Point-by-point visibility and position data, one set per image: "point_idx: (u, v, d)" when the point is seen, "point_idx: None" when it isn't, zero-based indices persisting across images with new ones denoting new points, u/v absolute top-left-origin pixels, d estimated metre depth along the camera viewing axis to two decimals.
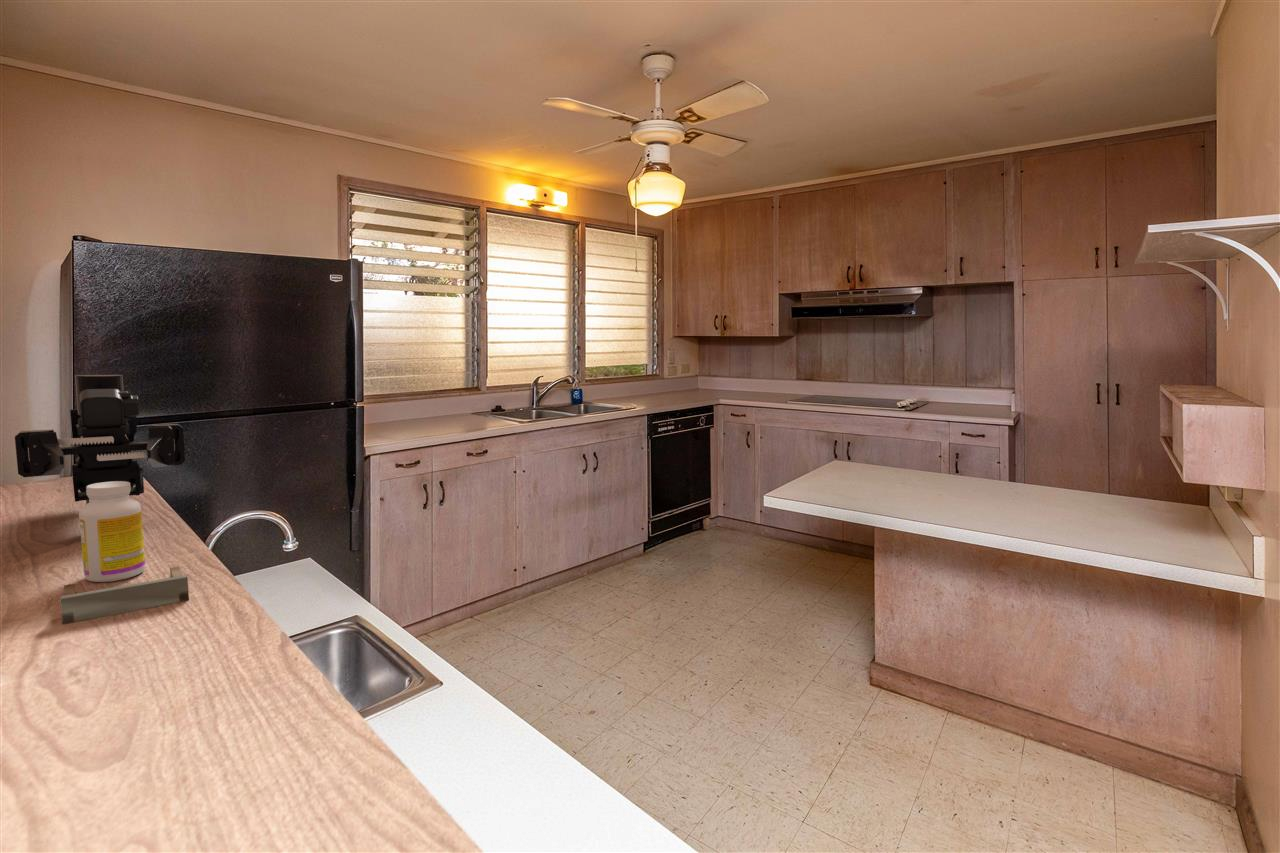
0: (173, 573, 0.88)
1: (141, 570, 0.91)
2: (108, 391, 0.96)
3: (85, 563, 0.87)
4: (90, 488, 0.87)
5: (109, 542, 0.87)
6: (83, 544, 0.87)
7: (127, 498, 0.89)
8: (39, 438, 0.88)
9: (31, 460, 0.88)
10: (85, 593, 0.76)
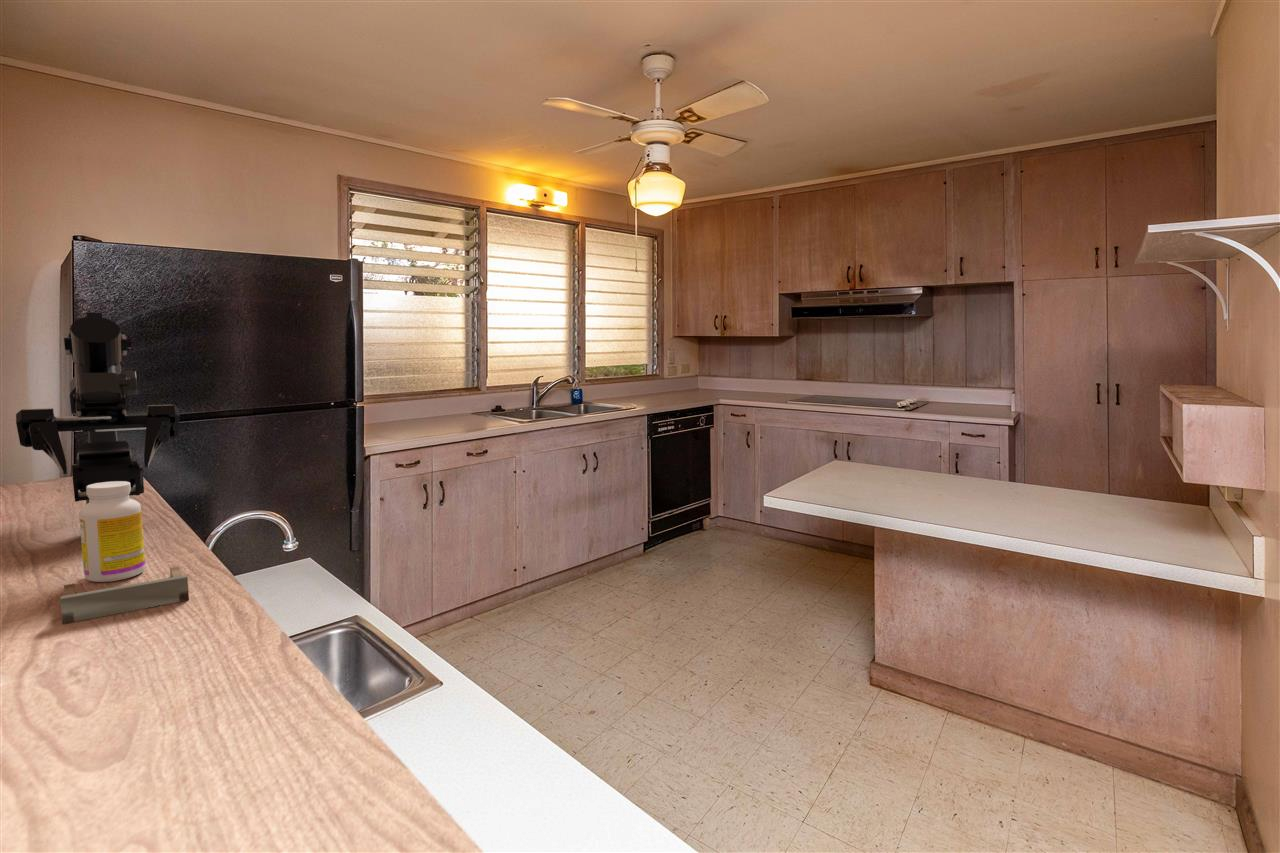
0: (173, 573, 0.88)
1: (141, 570, 0.91)
2: (107, 378, 0.95)
3: (85, 563, 0.87)
4: (90, 488, 0.87)
5: (109, 542, 0.87)
6: (83, 544, 0.87)
7: (127, 498, 0.89)
8: (40, 429, 0.92)
9: (33, 441, 0.93)
10: (85, 593, 0.76)
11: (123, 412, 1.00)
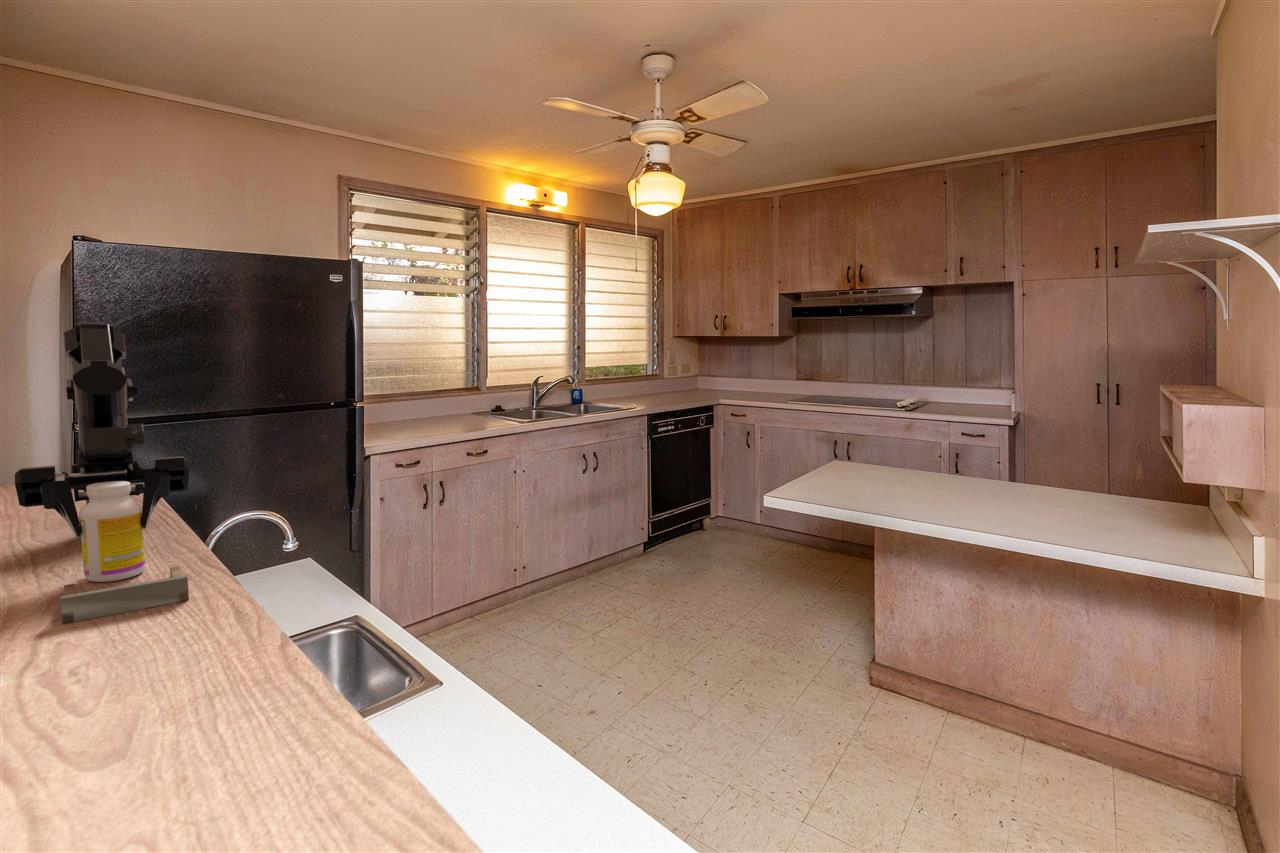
0: (173, 573, 0.88)
1: (141, 570, 0.91)
2: (113, 433, 0.88)
3: (85, 563, 0.87)
4: (90, 488, 0.87)
5: (109, 542, 0.87)
6: (83, 544, 0.87)
7: (127, 498, 0.89)
8: (52, 489, 0.86)
9: (44, 500, 0.87)
10: (85, 593, 0.76)
11: (129, 466, 0.93)
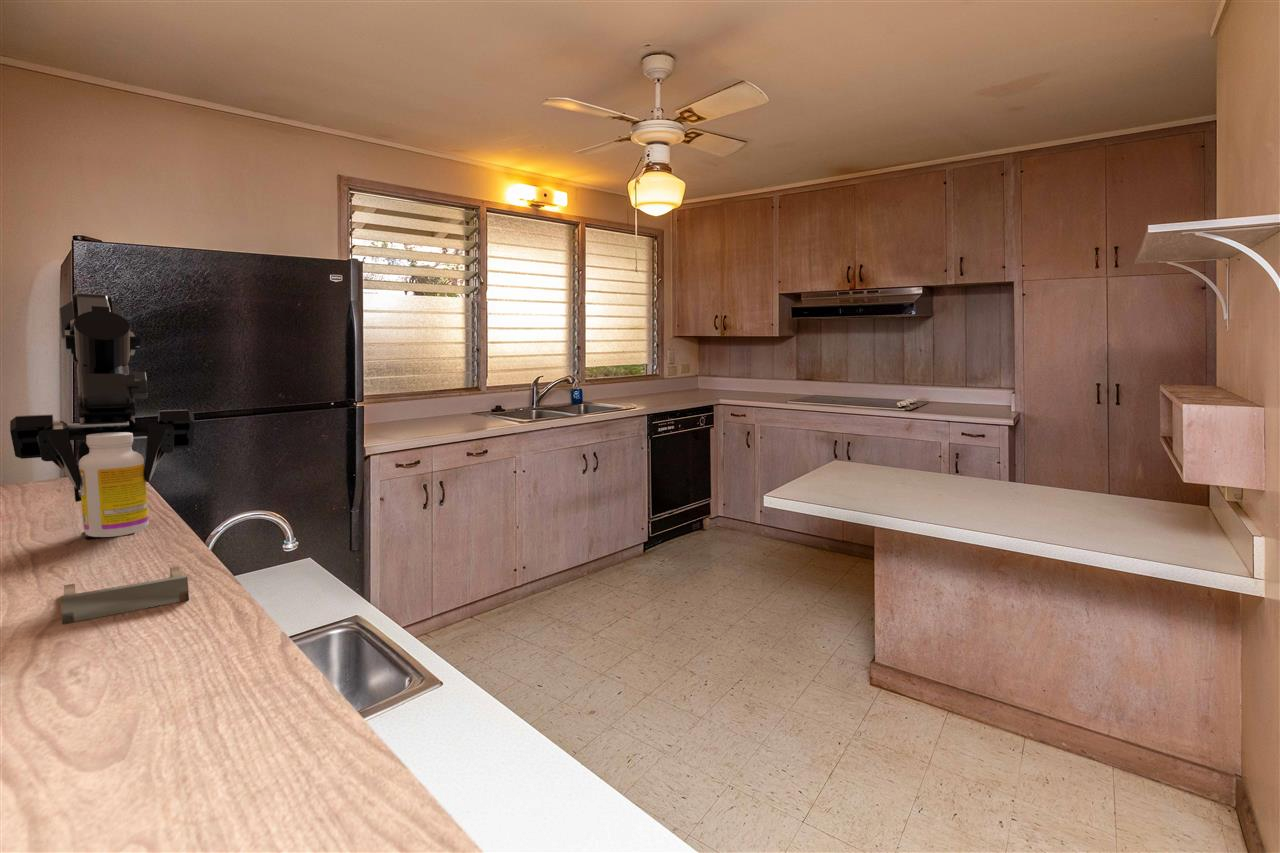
0: (173, 573, 0.88)
1: (144, 526, 0.86)
2: (114, 380, 0.84)
3: (85, 517, 0.82)
4: (90, 436, 0.82)
5: (110, 494, 0.82)
6: (83, 496, 0.82)
7: (129, 449, 0.84)
8: (50, 438, 0.81)
9: (42, 451, 0.82)
10: (85, 593, 0.76)
11: (131, 418, 0.89)
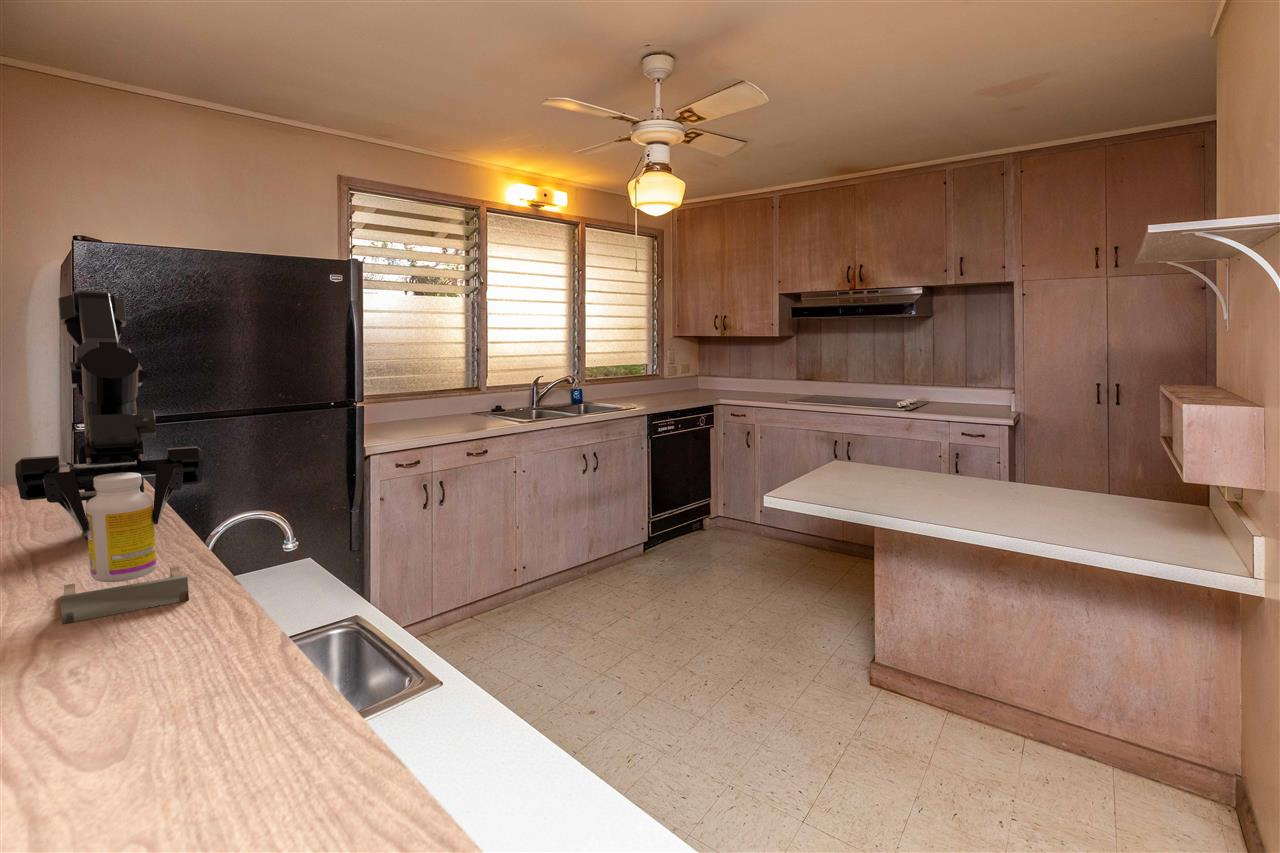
0: (173, 573, 0.88)
1: (152, 569, 0.84)
2: (122, 421, 0.81)
3: (92, 561, 0.80)
4: (98, 480, 0.79)
5: (118, 539, 0.80)
6: (90, 541, 0.80)
7: (138, 491, 0.82)
8: (56, 481, 0.79)
9: (47, 493, 0.80)
10: (85, 593, 0.76)
11: (139, 457, 0.86)
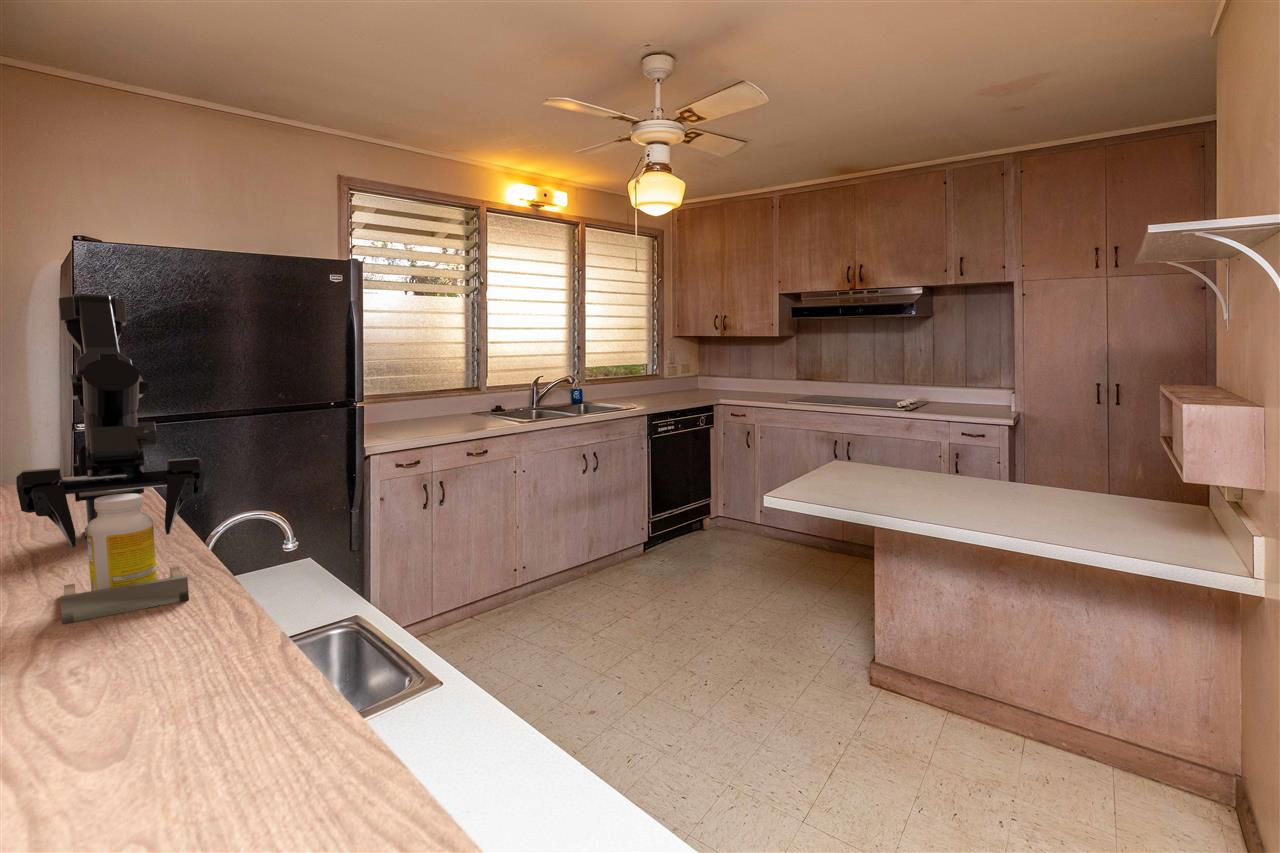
0: (173, 573, 0.88)
1: None
2: (123, 433, 0.81)
3: (93, 583, 0.80)
4: (98, 501, 0.80)
5: (119, 560, 0.80)
6: (91, 562, 0.80)
7: (138, 512, 0.83)
8: (45, 495, 0.78)
9: (36, 507, 0.80)
10: (85, 593, 0.76)
11: (140, 468, 0.86)
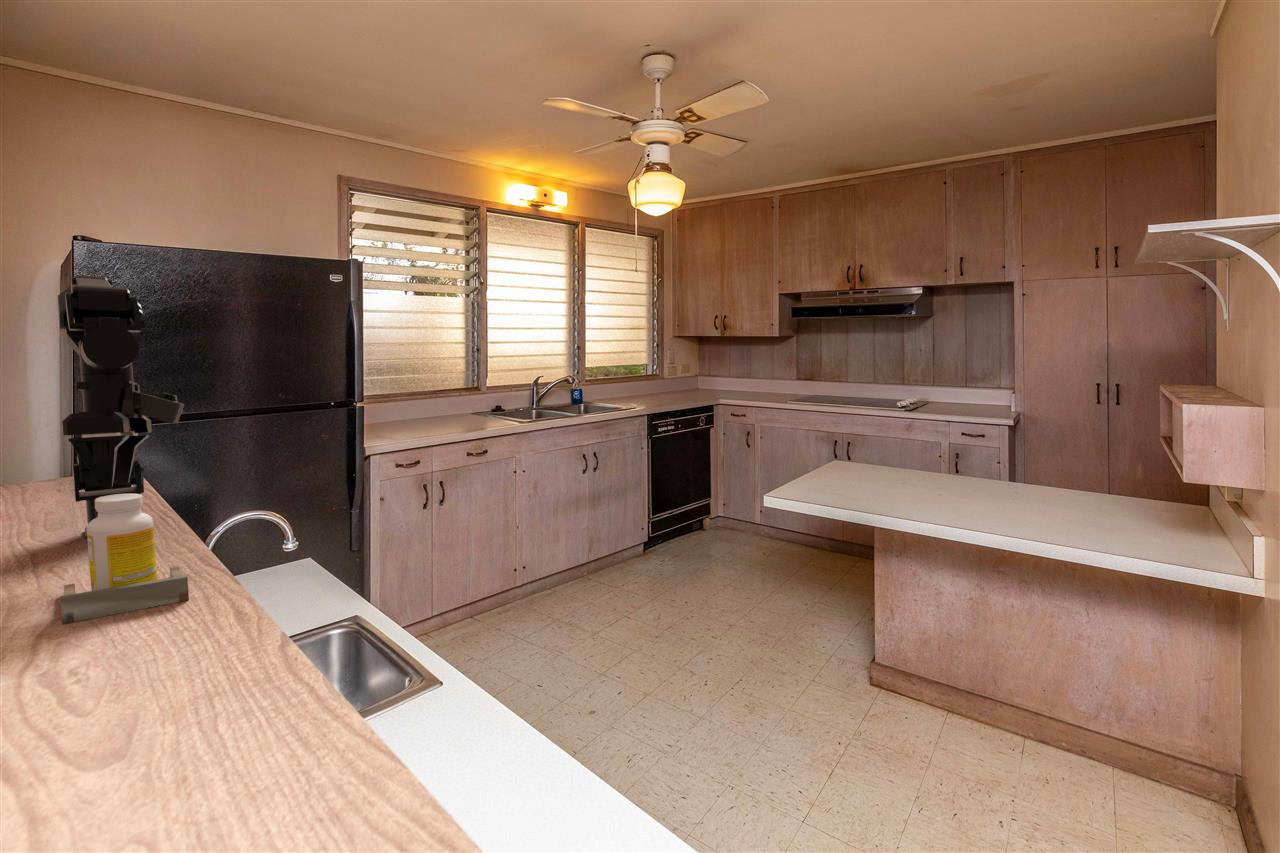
0: (173, 573, 0.88)
1: None
2: (181, 410, 0.97)
3: (93, 583, 0.80)
4: (99, 501, 0.80)
5: (119, 560, 0.80)
6: (91, 562, 0.80)
7: (139, 512, 0.83)
8: (120, 441, 0.87)
9: (89, 441, 0.85)
10: (85, 593, 0.76)
11: None
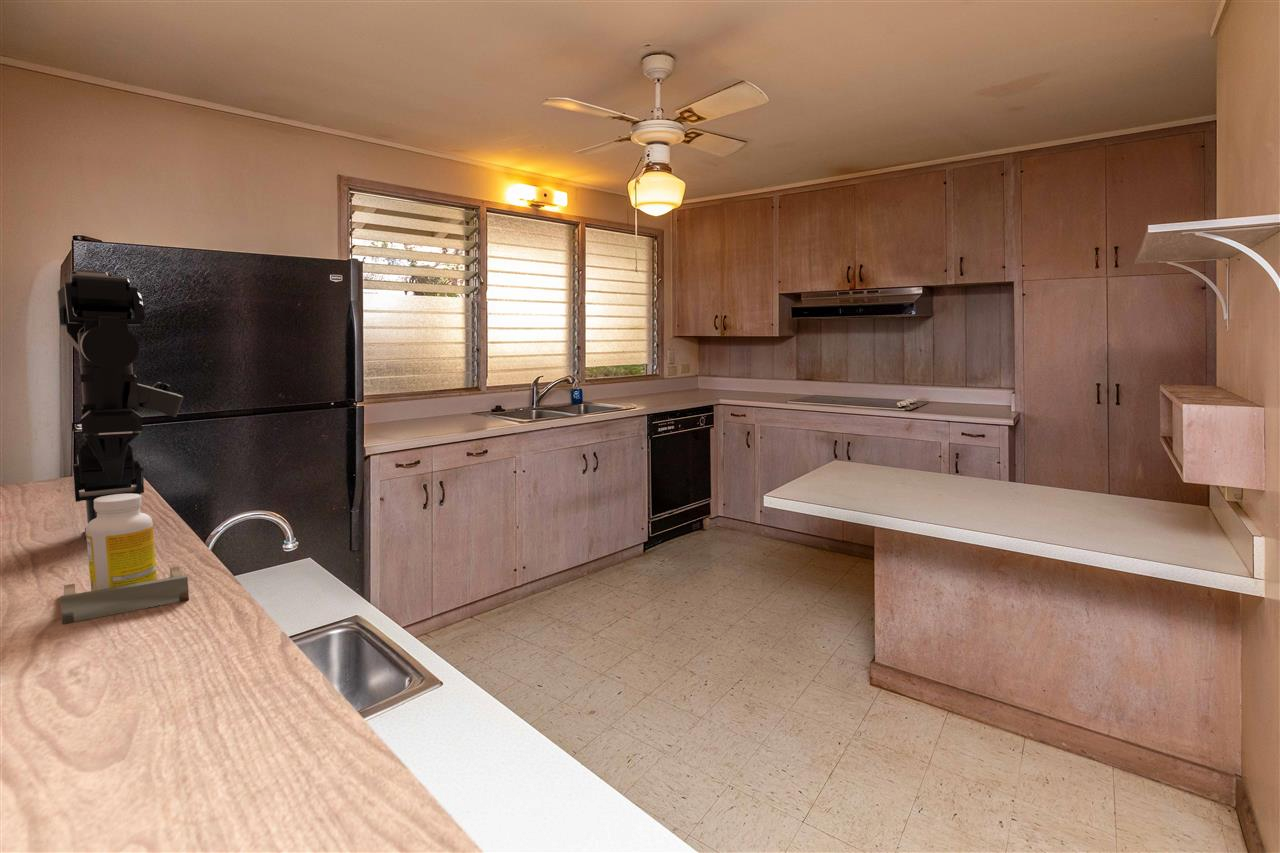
0: (173, 573, 0.88)
1: None
2: None
3: (93, 583, 0.80)
4: (98, 502, 0.80)
5: (119, 560, 0.80)
6: (90, 562, 0.80)
7: (138, 512, 0.83)
8: (134, 438, 0.89)
9: (106, 438, 0.86)
10: (85, 593, 0.76)
11: None
